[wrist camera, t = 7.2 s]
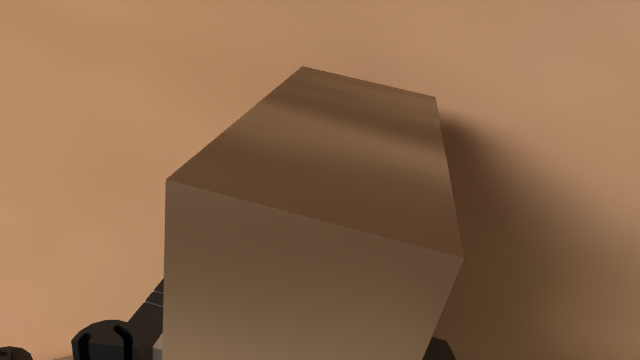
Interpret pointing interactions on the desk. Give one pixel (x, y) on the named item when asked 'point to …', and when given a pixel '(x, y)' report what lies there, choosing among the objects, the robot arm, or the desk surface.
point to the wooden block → (66, 358)
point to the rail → (313, 229)
